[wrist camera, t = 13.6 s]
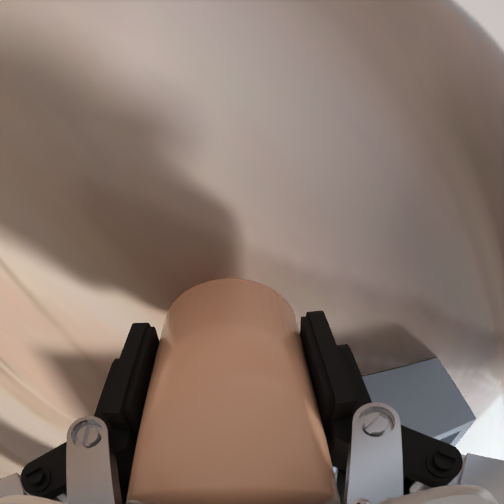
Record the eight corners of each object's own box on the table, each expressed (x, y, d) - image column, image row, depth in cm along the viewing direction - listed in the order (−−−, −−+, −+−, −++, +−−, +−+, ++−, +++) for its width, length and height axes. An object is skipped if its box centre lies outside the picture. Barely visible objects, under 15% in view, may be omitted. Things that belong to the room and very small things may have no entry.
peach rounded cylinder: (304, 277, 11) (368, 472, 4) (290, 376, 13) (317, 528, 7) (155, 278, 10) (93, 473, 4) (173, 377, 13) (154, 530, 6)
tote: (437, 357, 18) (476, 418, 13) (383, 460, 25) (398, 503, 20) (131, 397, 17) (116, 477, 12) (186, 487, 24) (185, 536, 19)
